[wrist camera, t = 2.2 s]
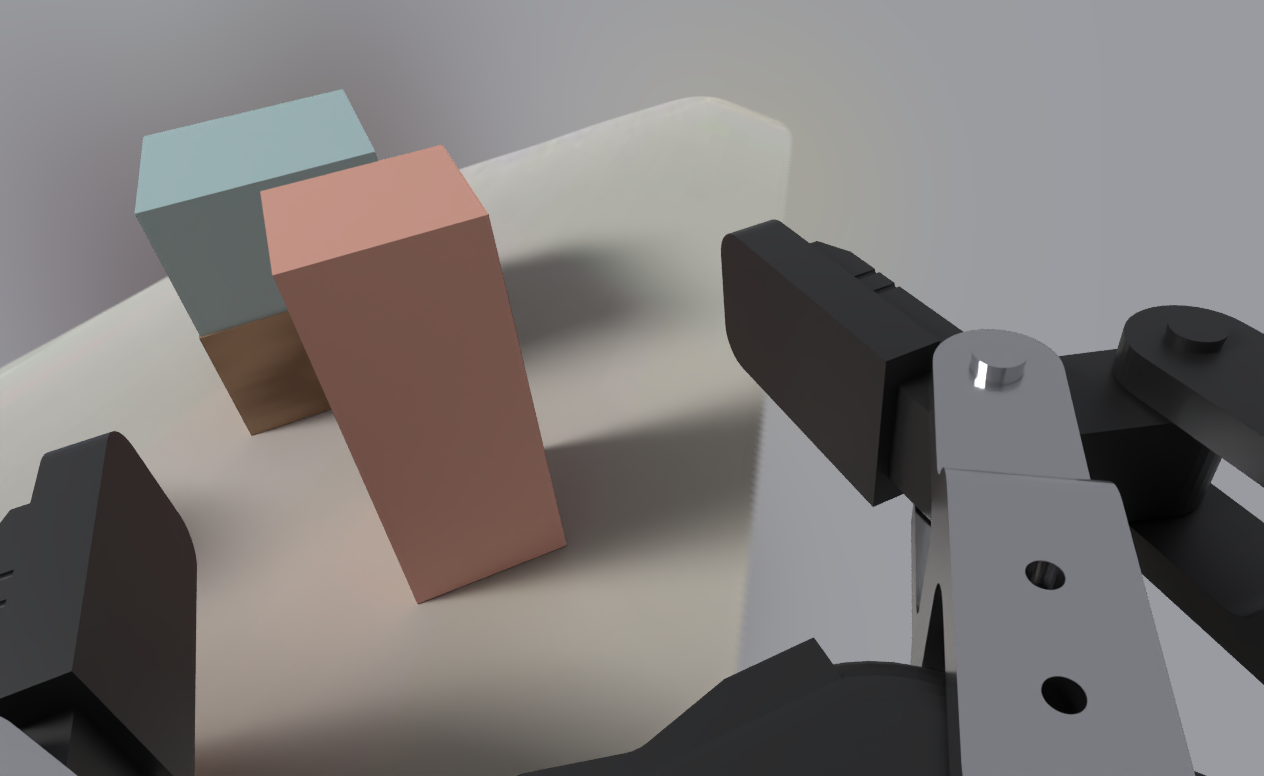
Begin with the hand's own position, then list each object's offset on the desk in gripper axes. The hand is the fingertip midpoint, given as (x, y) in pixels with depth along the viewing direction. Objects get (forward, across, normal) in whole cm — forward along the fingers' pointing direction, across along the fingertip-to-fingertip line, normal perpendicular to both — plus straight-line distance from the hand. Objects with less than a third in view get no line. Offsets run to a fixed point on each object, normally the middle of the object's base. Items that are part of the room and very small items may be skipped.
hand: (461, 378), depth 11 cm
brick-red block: (+12, 0, +14) cm, 18 cm away
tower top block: (+25, +3, +9) cm, 26 cm away
